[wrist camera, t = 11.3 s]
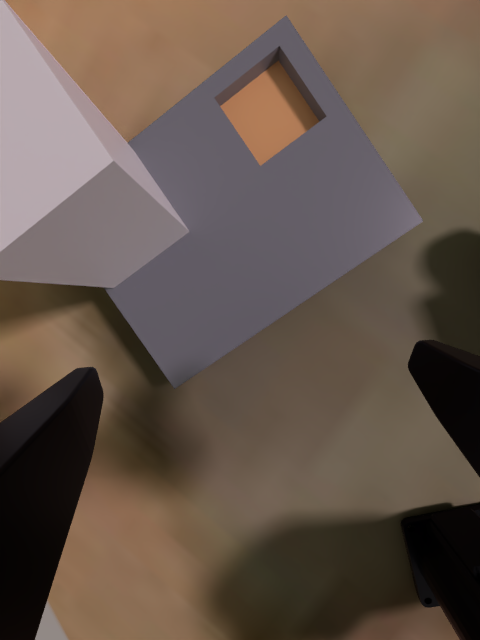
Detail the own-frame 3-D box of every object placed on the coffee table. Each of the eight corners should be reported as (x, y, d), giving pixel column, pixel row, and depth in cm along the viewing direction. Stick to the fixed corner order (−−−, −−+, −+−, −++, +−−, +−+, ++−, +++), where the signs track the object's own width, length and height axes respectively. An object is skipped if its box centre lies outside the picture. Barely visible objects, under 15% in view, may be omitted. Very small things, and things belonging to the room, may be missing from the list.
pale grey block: (198, 239, 20) (113, 160, 8) (130, 289, 20) (-32, 277, 9) (148, 167, 20) (-5, -11, 8) (81, 219, 20) (-145, 119, 9)
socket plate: (401, 231, 19) (423, 221, 16) (184, 378, 21) (174, 388, 18) (282, 53, 19) (286, 15, 16) (73, 218, 20) (47, 207, 18)
